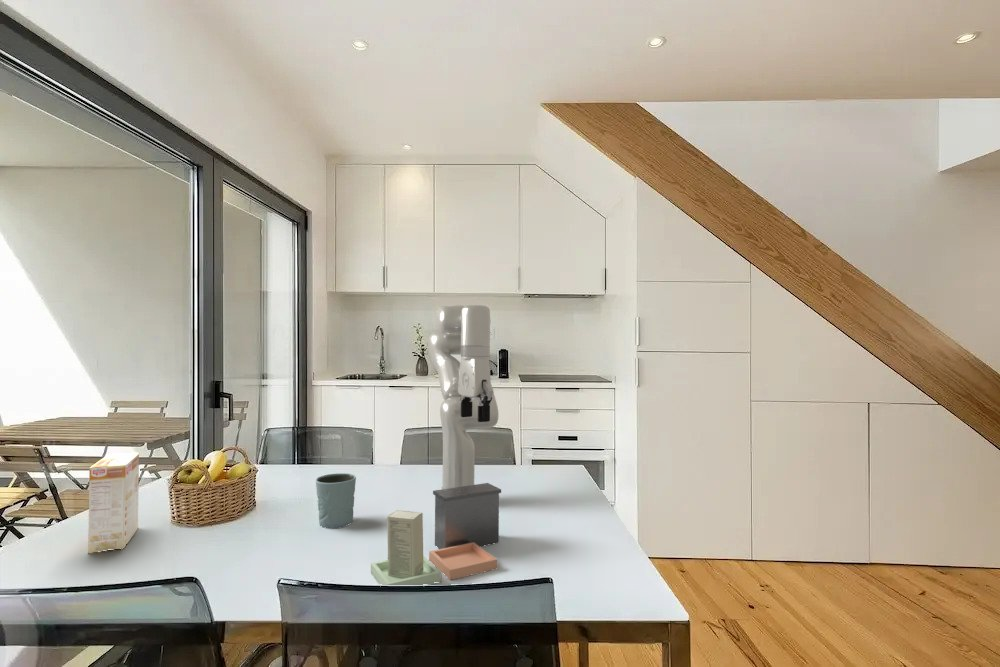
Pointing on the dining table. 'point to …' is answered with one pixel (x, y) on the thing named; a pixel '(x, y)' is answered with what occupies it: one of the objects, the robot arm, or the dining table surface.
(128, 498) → the coffeecake box
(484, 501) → the charcoal unit
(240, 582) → the dining table surface
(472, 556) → the terracotta tray
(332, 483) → the grey-green cup
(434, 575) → the sage tray
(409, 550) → the skincare box
